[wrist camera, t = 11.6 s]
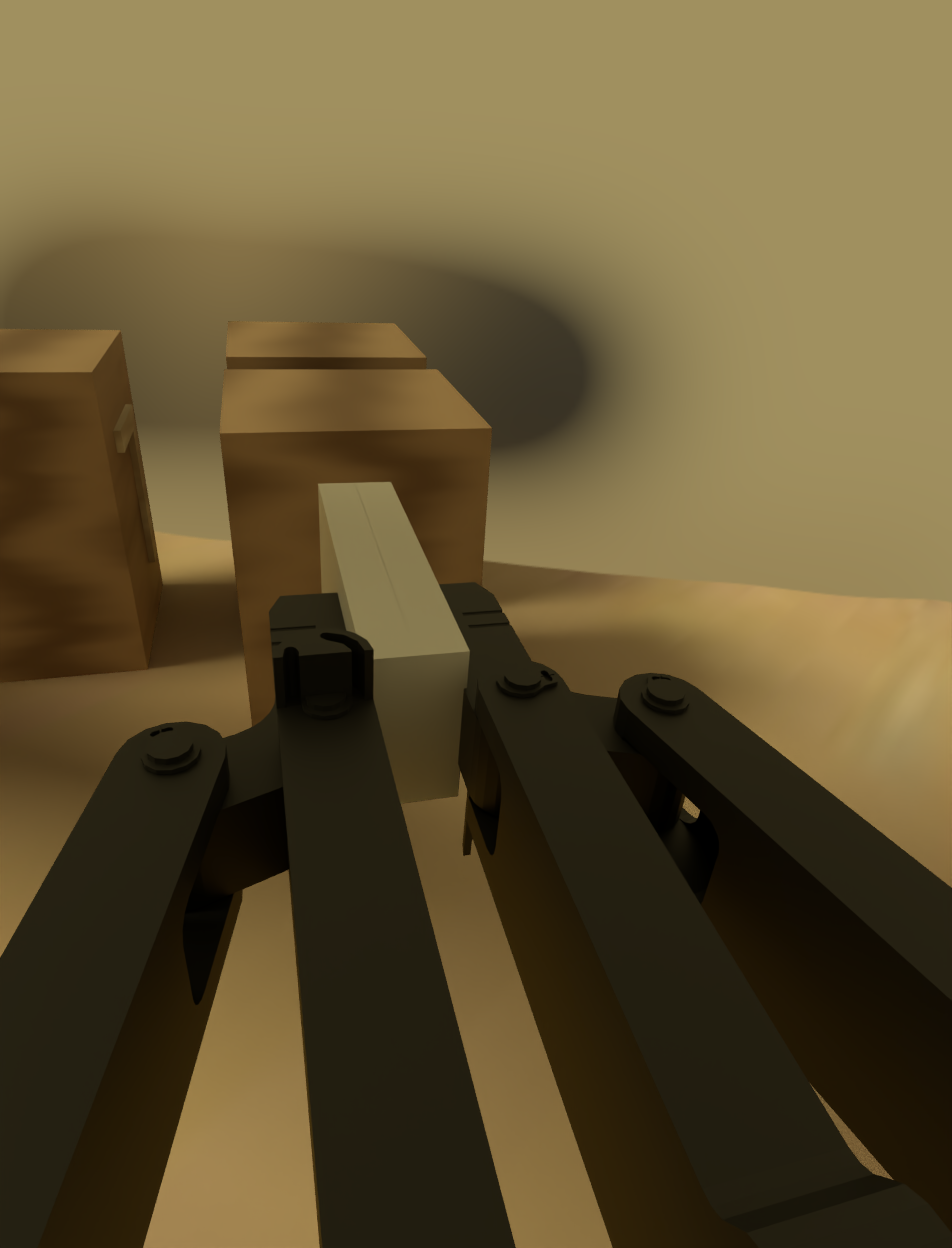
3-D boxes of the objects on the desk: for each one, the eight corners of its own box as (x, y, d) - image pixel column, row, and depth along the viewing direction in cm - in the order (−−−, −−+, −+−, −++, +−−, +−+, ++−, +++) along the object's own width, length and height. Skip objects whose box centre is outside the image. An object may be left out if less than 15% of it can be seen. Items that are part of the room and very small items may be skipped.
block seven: (-65, 688, 35) (-177, 372, 28) (-10, 593, 43) (-88, 326, 36) (154, 669, 38) (99, 372, 31) (168, 582, 45) (128, 329, 38)
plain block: (257, 771, 32) (219, 433, 25) (254, 654, 39) (224, 369, 32) (470, 745, 34) (491, 428, 27) (429, 639, 41) (437, 369, 34)
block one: (254, 630, 41) (226, 357, 34) (251, 555, 49) (228, 320, 42) (426, 616, 44) (432, 357, 37) (397, 547, 51) (398, 322, 44)
